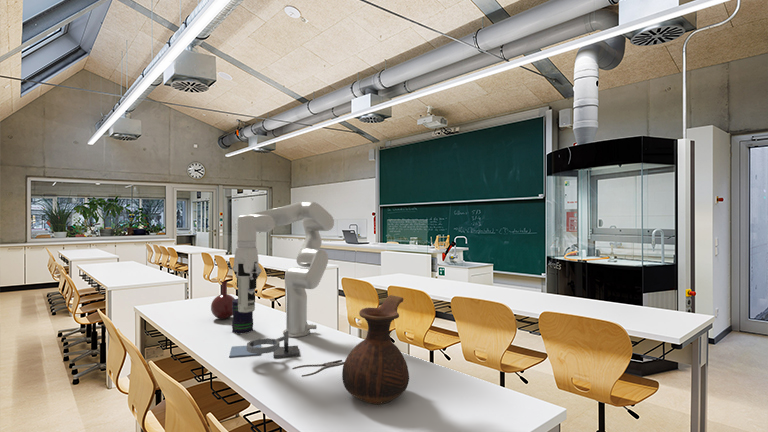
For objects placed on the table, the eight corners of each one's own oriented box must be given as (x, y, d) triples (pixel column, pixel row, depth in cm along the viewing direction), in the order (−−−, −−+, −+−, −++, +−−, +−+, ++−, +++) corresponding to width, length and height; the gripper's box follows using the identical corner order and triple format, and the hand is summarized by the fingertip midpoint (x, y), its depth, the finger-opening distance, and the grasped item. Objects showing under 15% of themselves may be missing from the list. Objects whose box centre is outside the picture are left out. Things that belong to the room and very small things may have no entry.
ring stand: (297, 348, 176) (297, 327, 176) (301, 364, 157) (301, 341, 157) (248, 352, 171) (248, 330, 171) (245, 369, 152) (246, 345, 152)
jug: (420, 406, 125) (421, 306, 125) (350, 415, 119) (351, 310, 118) (397, 378, 146) (398, 293, 145) (336, 384, 139) (337, 296, 139)
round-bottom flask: (231, 322, 217) (231, 284, 217) (206, 321, 217) (206, 283, 217) (240, 315, 230) (240, 280, 230) (216, 315, 230) (217, 279, 230)
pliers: (288, 368, 152) (330, 355, 167) (288, 371, 152) (330, 357, 167) (303, 376, 145) (346, 361, 160) (303, 378, 145) (346, 363, 160)
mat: (261, 345, 179) (261, 344, 179) (260, 355, 168) (260, 353, 168) (231, 348, 176) (231, 346, 176) (229, 357, 164) (229, 356, 164)
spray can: (249, 313, 168) (249, 264, 167) (234, 312, 169) (234, 263, 169) (257, 309, 174) (258, 262, 174) (243, 308, 175) (243, 261, 175)
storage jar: (249, 333, 197) (249, 302, 196) (228, 333, 197) (228, 302, 197) (256, 328, 206) (256, 298, 206) (236, 327, 207) (236, 297, 207)
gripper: (225, 244, 172) (224, 287, 172) (255, 246, 164) (254, 291, 164) (239, 243, 179) (239, 284, 179) (268, 245, 170) (268, 288, 171)
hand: (246, 287), depth 171 cm, fingers closed on spray can, 6 cm apart
